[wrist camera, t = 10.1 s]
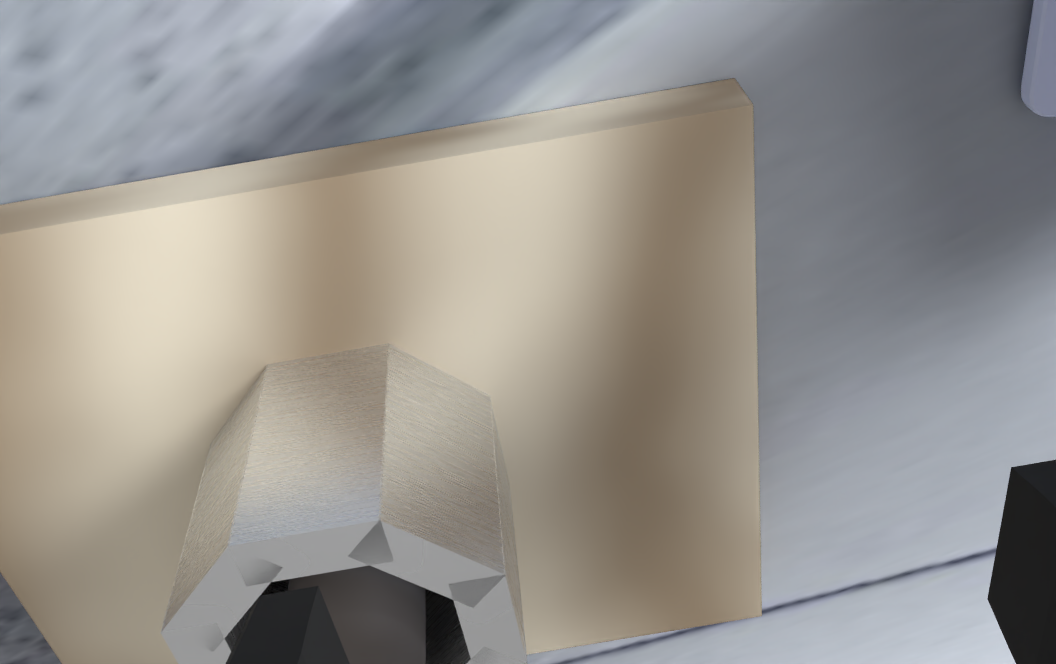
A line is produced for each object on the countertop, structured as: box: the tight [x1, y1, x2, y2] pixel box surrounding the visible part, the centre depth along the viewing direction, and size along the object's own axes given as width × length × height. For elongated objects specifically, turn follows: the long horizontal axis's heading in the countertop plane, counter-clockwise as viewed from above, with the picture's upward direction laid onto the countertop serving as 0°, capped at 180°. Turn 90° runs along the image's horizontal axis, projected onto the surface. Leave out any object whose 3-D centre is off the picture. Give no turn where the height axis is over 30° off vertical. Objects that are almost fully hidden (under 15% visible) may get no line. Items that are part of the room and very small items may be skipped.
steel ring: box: [160, 343, 528, 664], centre depth 18 cm, size 6×6×4 cm
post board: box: [0, 78, 762, 664], centre depth 19 cm, size 16×13×6 cm
